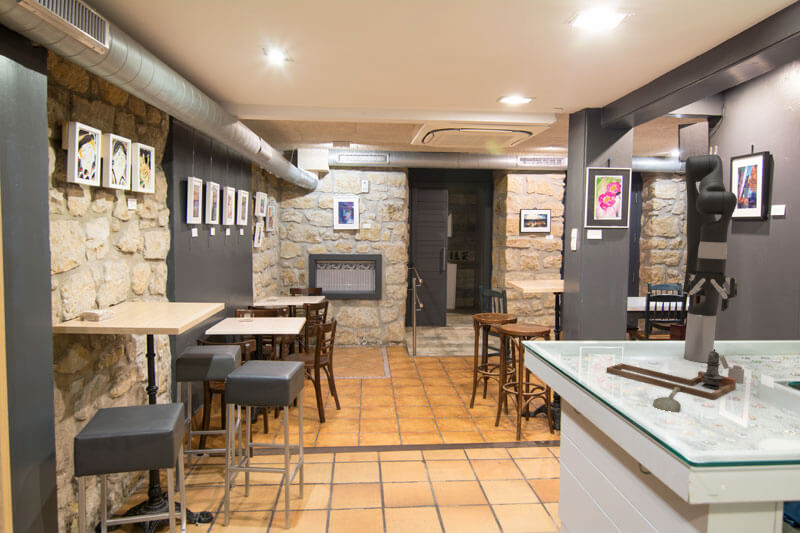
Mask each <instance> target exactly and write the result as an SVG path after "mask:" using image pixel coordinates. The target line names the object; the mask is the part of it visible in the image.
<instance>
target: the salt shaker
mask: <svg viewBox="0 0 800 533" xmlns="http://www.w3.org/2000/svg"><path fill="white" fill-rule="evenodd" d="M719 356H720V354H719V353H718V352H717V351H716V349H715V348H714V349H713V351H712V352H710V353H709V357H708V362H706V364H707V368H706V371H704V372H705V373H702V374H701V375H702V379H703V381H704V382H705V383H703V384H701V385H700V386H701V387H702V388H704V389H708V390H714V391H716V390H718V389H720V388H722V387H719V386H718V384H720V383H721V381H722V379H723V376H724V375H721V374H720V373H719V372H720V371H719V367H720V366H721V364H720V363H719V362H720V358H719Z"/></svg>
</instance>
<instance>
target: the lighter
mask: <svg viewBox="0 0 800 533" xmlns="http://www.w3.org/2000/svg"><path fill="white" fill-rule="evenodd" d="M719 362H720V363H721V365H722V368H723V369H724V370H726V369H727V370H728V371H727V372H728V373H727V374H728V375H727V377H729V378H734V379H736V384H737V383H738V384H741V385H742V384H744V378H745V377H744V376H745V369H744V368H743V367H742V366H741V365H735V364H733V366H732V367H731V366H729V363H728V362H727V359H726V357H725V355H724V354H721V355H719Z"/></svg>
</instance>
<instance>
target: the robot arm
mask: <svg viewBox="0 0 800 533" xmlns="http://www.w3.org/2000/svg"><path fill="white" fill-rule="evenodd" d="M684 165H685V167H684V168H685V174H684V175H685V182H686V184H685V187H686V264H685V275H684V283H683V290H682V291H683V293H686V294H688V296H689V297H688V298H689V300H688V304H689V305H688V307H687V317H686V328H685V338H684V339H685V341H684V353H683V358H684V359H685V360H689V361H693V362H698V363H707V362H708V357H709V353H710V352H712V351H714V349H715V348H714V346H715V336H716V322H717V315H718V314H717V311H718V307H719V300H720V296H721V297H722V299H721V306H720V307H721V308H720V311H722V312H726V310H729V307H730V299H733V298H736V297H737V296H738V278H737V277H736V276H735V277H727V276H726V269H727V268H726V267H727V257H728V243H727V242H728V231H729V226H730V222H731V219H732V217H733V215H734V213H735V210H736V208H737V204H738V197H737V196H736V194H735V193H734V192H732V191H727V190H726V187H725V184H724V169H723V166H724V165H723V161H722V158H721V156H719V155H718V154H715V153H714V154H704V155H701V154H700V155H693V156H689V157H688V158H687V159H686V161H685V164H684ZM697 183H699V184H698V187H697ZM718 215H720V218H719V219H717V218H716V216H718ZM726 282H727V284H728V285H729V292H728V291H727V288H726V287H725V286H724V284H725V283H726ZM697 296H701V297H702V296H703V297H704V300H703V301H701V302H698V303H697Z"/></svg>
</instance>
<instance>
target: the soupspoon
mask: <svg viewBox="0 0 800 533" xmlns="http://www.w3.org/2000/svg"><path fill="white" fill-rule="evenodd" d="M677 392H679V393H680V392H681V391H680V388H679V387H674V389H672V391H671V392H670V394H669V395H668V397H666V396H662V397H658V398H655V399H654V400H653V402H652V406H653V407H654V408H655V409H656V408H657V409H656V410H659V409H660V411H663V410H665V411H664V412H668V411H671V412H670V413H678V412H679V411H680V410H681V407H682V406H681V403H680V402H679V401H678V400H676V399H674V398H673V396H674V395H675V393H677Z"/></svg>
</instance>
